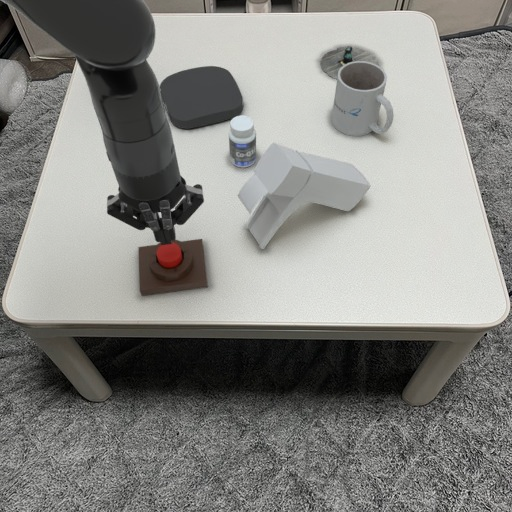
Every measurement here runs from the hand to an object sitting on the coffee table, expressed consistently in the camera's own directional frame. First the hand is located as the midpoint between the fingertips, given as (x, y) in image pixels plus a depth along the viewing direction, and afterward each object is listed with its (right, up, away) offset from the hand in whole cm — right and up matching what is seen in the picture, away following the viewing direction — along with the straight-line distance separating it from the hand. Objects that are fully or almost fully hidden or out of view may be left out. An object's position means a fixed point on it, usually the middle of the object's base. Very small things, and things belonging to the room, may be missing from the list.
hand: (166, 239), depth 73 cm
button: (0, -3, +4) cm, 5 cm away
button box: (0, -4, +7) cm, 8 cm away
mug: (+32, +22, +25) cm, 46 cm away
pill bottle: (+10, +15, +20) cm, 27 cm away
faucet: (+21, +4, +12) cm, 24 cm away
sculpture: (+33, +38, +36) cm, 62 cm away
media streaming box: (+2, +28, +29) cm, 41 cm away
